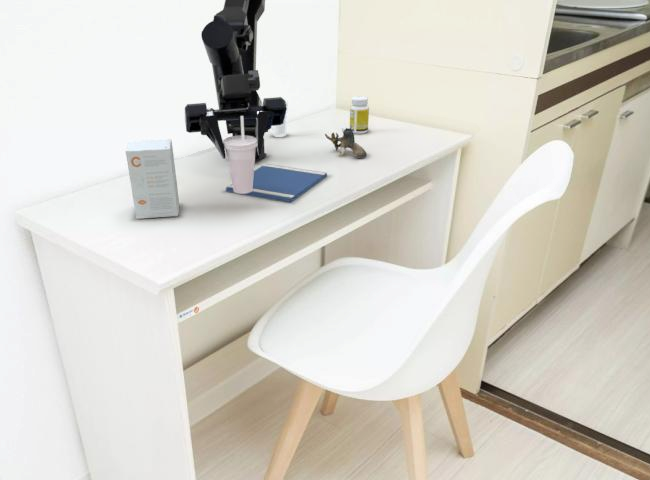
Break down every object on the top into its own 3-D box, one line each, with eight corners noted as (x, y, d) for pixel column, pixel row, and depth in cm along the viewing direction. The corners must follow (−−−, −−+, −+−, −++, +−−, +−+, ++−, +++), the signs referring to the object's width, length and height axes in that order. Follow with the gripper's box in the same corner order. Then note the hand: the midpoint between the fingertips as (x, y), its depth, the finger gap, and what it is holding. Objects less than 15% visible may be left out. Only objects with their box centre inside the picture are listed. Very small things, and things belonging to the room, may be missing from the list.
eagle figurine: (320, 151, 151) (350, 151, 145) (327, 121, 151) (358, 119, 145) (339, 162, 157) (369, 162, 151) (346, 133, 157) (376, 132, 151)
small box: (179, 204, 128) (172, 138, 121) (178, 216, 123) (171, 148, 116) (138, 207, 127) (128, 140, 120) (135, 219, 122) (125, 150, 115)
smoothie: (258, 196, 122) (255, 120, 114) (224, 196, 122) (219, 121, 115) (260, 183, 127) (257, 111, 120) (227, 184, 128) (222, 111, 120)
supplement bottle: (370, 130, 169) (372, 97, 164) (363, 135, 166) (364, 100, 161) (354, 128, 171) (355, 95, 167) (346, 132, 168) (347, 99, 163)
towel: (226, 191, 133) (225, 187, 133) (266, 167, 146) (266, 163, 146) (290, 202, 127) (290, 198, 127) (326, 176, 140) (326, 172, 139)
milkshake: (267, 138, 165) (266, 97, 160) (273, 132, 169) (272, 93, 164) (284, 139, 164) (284, 98, 158) (290, 133, 168) (290, 93, 163)
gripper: (179, 57, 114) (191, 138, 111) (283, 50, 116) (298, 129, 113) (180, 93, 124) (191, 168, 121) (275, 86, 127) (288, 159, 124)
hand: (242, 156), depth 120 cm, fingers closed on smoothie, 6 cm apart
